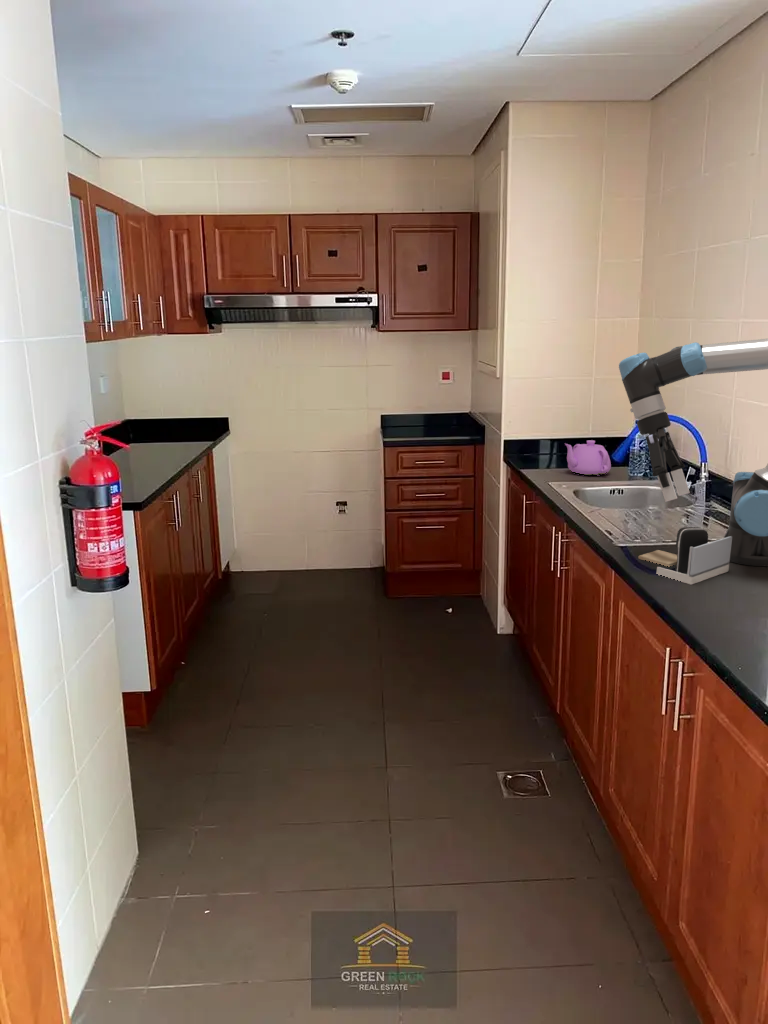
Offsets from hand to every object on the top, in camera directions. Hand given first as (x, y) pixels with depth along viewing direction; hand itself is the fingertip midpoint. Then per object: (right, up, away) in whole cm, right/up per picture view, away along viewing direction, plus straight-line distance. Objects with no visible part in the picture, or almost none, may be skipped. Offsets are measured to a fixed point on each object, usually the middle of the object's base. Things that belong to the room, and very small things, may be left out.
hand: (678, 497), depth 190 cm
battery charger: (+4, -19, +3) cm, 19 cm away
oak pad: (+1, -16, +12) cm, 20 cm away
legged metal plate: (+4, -19, +2) cm, 19 cm away
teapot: (+10, +12, +127) cm, 128 cm away
